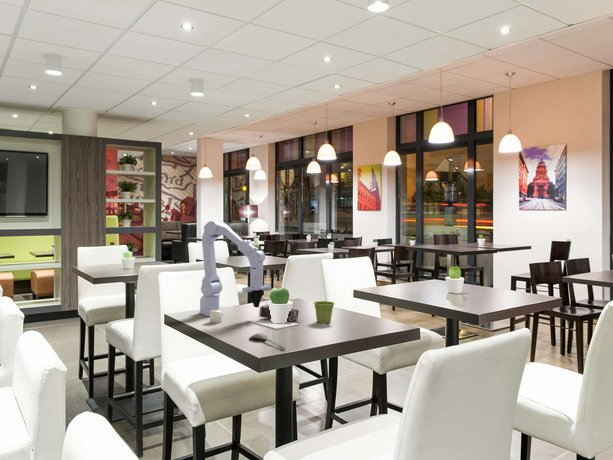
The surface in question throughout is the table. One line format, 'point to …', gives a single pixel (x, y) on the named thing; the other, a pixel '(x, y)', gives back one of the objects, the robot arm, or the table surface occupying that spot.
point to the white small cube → (215, 316)
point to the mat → (274, 324)
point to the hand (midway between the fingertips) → (256, 307)
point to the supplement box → (266, 314)
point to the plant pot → (324, 311)
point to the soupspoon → (263, 336)
